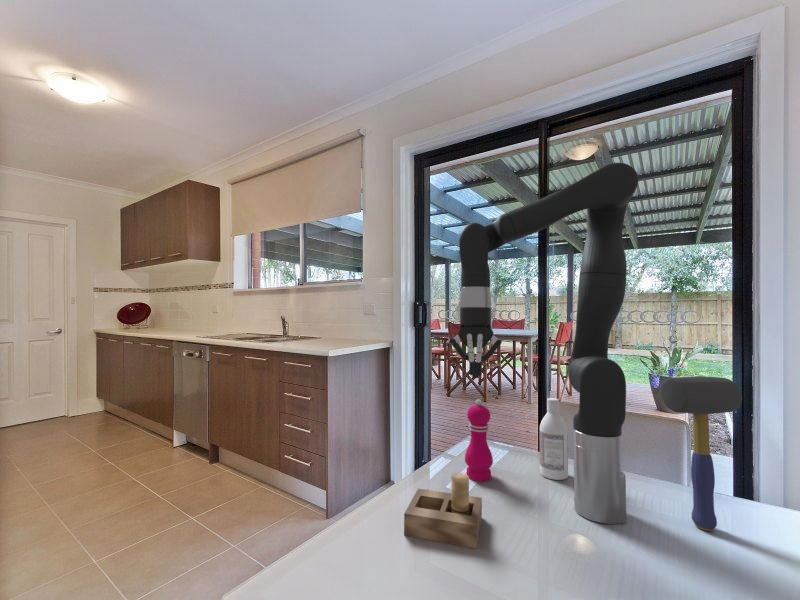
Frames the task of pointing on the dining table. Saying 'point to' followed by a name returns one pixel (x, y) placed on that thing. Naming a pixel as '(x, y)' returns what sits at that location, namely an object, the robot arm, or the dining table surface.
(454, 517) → the board
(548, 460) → the bath foam
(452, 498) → the peg
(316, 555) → the dining table surface
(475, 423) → the pepper mill
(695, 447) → the rubber mallet
